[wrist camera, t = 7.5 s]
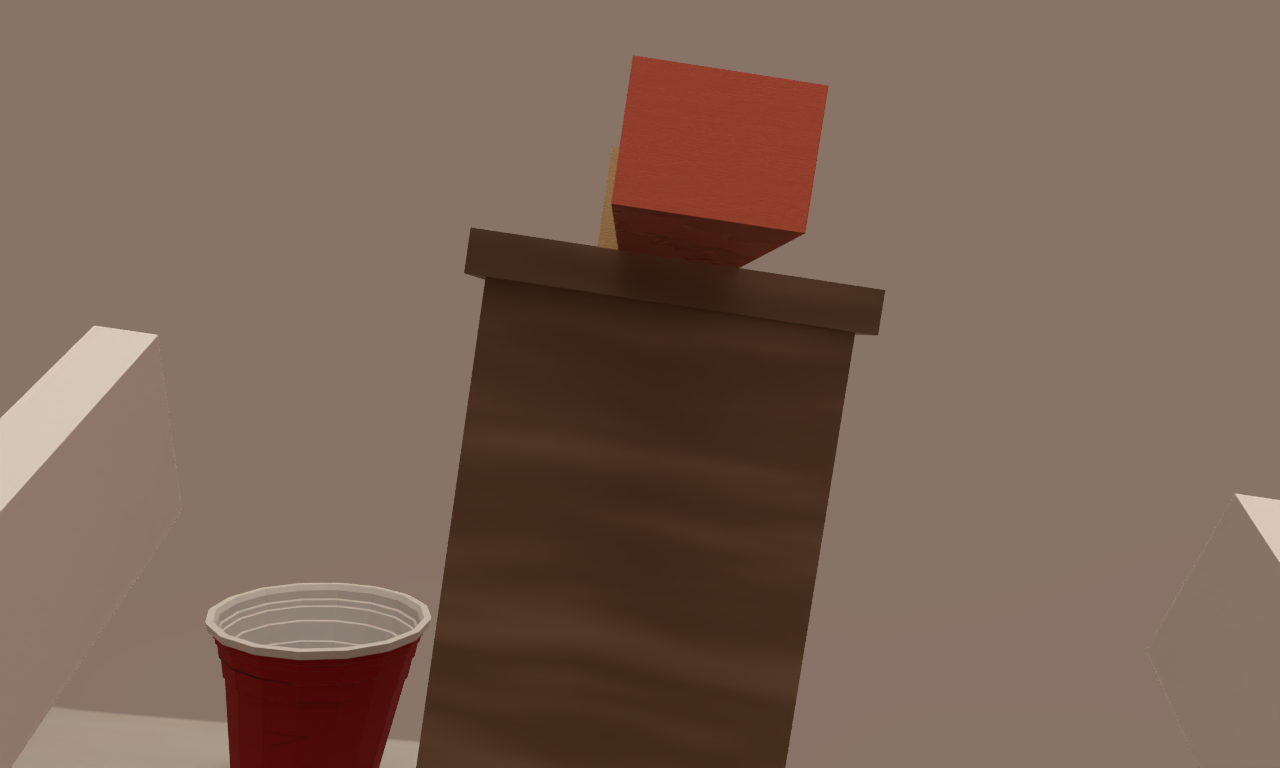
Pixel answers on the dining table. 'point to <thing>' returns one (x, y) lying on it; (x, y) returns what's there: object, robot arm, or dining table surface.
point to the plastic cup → (314, 671)
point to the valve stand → (636, 509)
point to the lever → (711, 163)
